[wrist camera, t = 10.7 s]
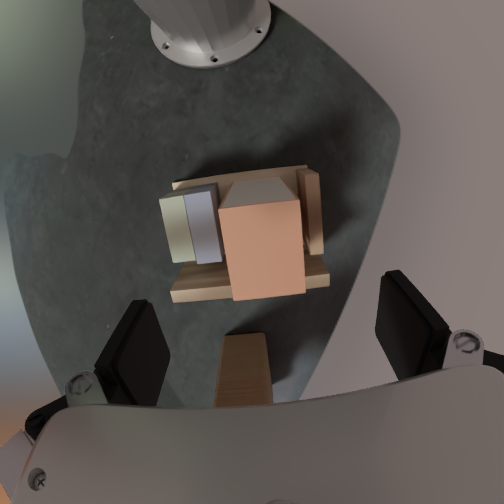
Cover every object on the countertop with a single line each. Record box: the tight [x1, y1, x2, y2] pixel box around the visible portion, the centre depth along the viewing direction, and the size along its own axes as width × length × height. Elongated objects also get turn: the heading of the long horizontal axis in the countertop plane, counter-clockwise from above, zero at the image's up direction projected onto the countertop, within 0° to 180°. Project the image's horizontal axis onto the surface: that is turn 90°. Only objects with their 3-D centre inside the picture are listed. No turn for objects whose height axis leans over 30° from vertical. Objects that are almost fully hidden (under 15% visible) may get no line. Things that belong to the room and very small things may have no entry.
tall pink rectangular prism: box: [218, 177, 306, 301], centre depth 24 cm, size 7×5×12 cm
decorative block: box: [213, 332, 273, 407], centre depth 29 cm, size 11×6×20 cm, turn 6°
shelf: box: [159, 165, 330, 303], centre depth 27 cm, size 10×14×8 cm
